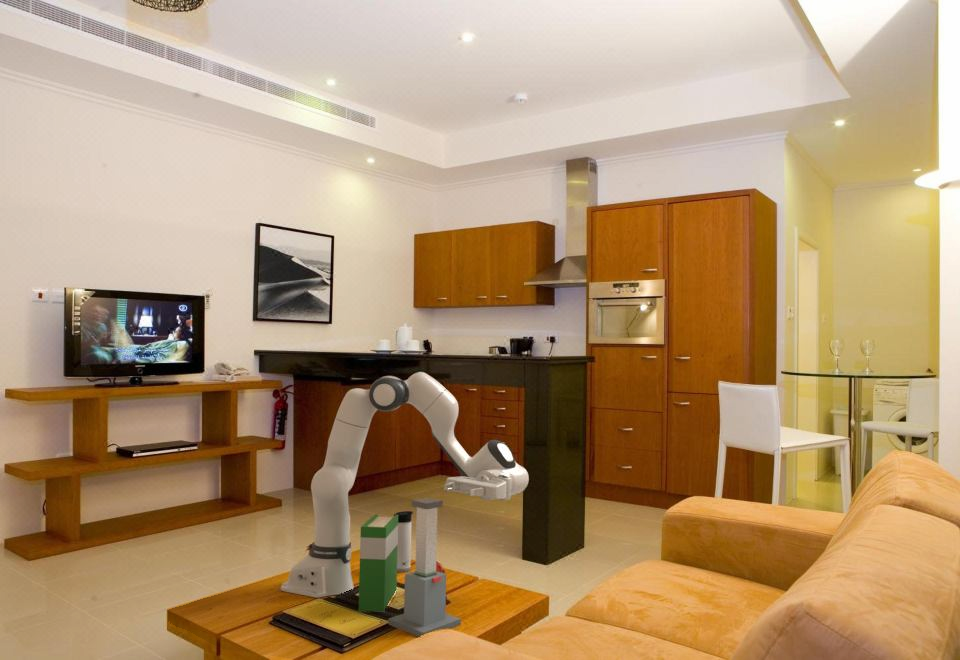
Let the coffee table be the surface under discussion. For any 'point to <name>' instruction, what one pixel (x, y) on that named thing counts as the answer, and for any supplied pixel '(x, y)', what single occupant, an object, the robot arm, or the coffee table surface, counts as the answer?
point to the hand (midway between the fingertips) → (457, 490)
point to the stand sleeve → (424, 605)
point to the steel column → (426, 536)
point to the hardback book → (378, 562)
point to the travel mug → (404, 541)
